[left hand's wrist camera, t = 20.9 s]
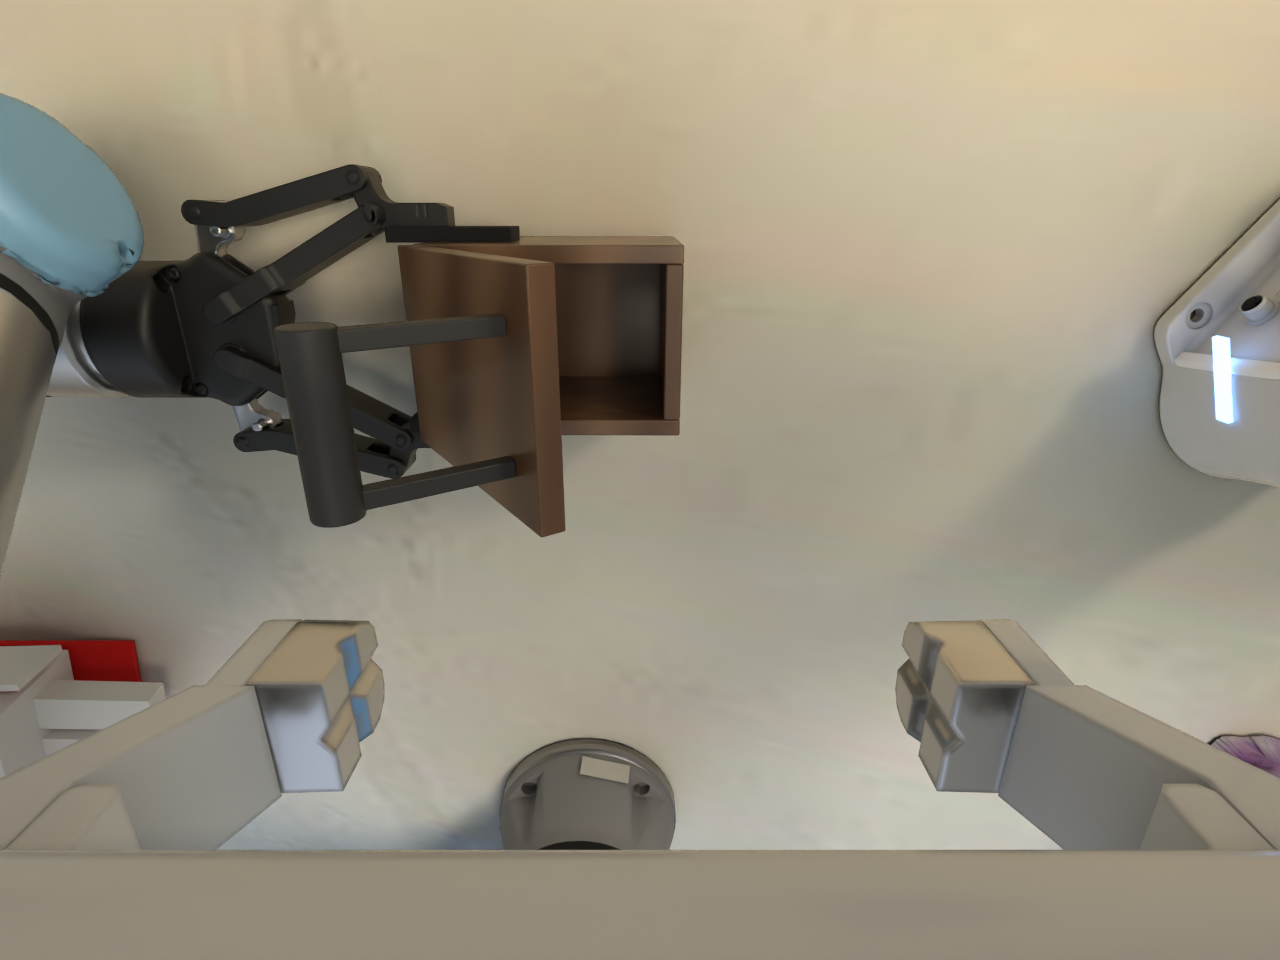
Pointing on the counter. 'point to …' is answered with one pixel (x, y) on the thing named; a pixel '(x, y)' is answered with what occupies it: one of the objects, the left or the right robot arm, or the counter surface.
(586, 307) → the chest
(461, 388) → the lid
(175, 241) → the counter surface
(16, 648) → the toy
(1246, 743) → the figurine
